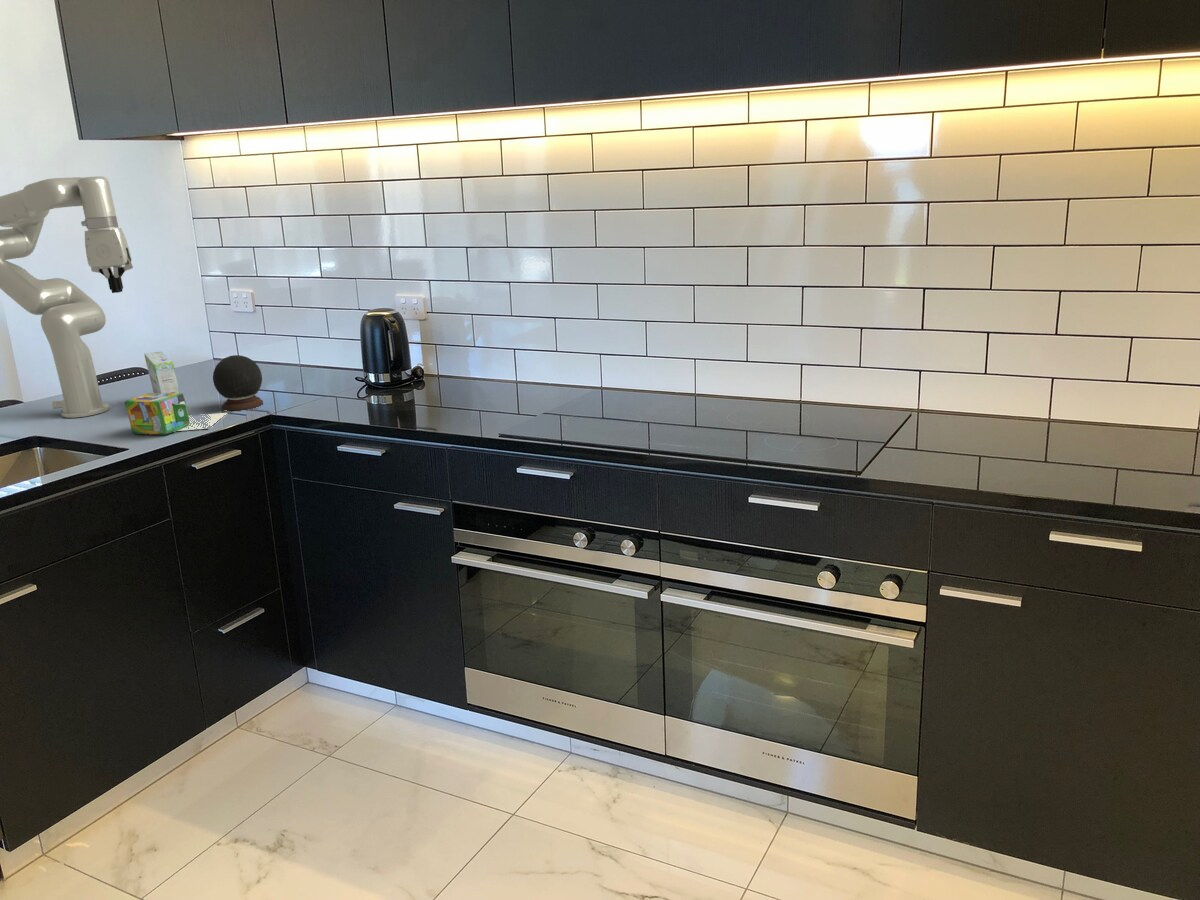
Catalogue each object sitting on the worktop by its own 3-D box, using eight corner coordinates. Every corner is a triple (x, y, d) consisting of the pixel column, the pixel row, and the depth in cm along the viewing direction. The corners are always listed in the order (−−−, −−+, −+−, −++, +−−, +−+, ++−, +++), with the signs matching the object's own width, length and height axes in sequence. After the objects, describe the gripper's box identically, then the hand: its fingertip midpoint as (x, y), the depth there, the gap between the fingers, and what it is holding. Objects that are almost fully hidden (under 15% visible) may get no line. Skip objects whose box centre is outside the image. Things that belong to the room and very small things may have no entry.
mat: (146, 434, 243) (146, 433, 243) (169, 418, 258) (169, 417, 258) (208, 429, 244) (208, 428, 243) (227, 414, 259) (227, 412, 259)
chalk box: (123, 401, 240) (167, 401, 235) (150, 392, 249) (193, 391, 244) (131, 435, 243) (175, 435, 238) (158, 425, 251) (201, 425, 246)
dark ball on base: (266, 398, 275) (257, 348, 270) (267, 408, 263) (258, 356, 258) (219, 404, 270) (209, 354, 266) (218, 415, 258) (208, 362, 254)
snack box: (153, 401, 280) (143, 353, 276) (173, 398, 283) (163, 350, 278) (164, 415, 263) (153, 363, 258) (185, 411, 266) (174, 360, 261)
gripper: (67, 227, 245) (83, 296, 251) (124, 223, 246) (139, 292, 251) (80, 225, 252) (95, 292, 258) (136, 221, 253) (150, 288, 259)
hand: (117, 292), depth 255 cm, fingers closed
